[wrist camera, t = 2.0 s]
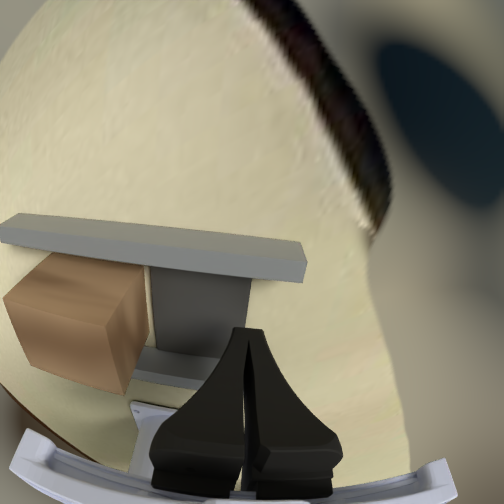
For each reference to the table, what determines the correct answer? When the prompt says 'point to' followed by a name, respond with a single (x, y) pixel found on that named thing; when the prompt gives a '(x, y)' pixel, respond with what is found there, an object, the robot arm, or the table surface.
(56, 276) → the walnut block
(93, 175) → the table surface
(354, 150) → the table surface
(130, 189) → the table surface
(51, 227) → the channel
